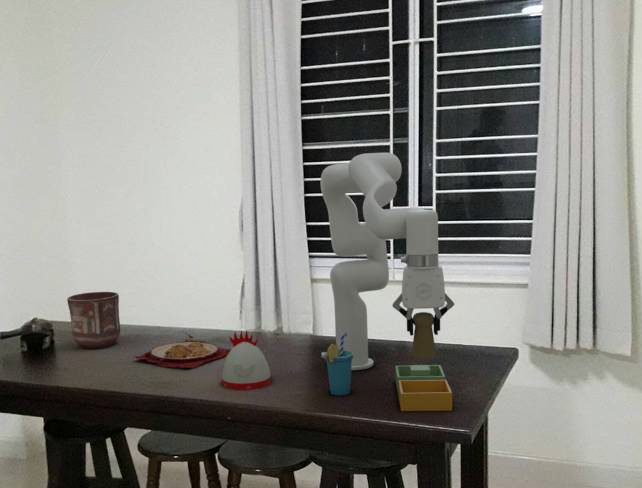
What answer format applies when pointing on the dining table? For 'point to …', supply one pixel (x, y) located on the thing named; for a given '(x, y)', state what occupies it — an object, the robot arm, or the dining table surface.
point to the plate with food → (184, 354)
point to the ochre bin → (424, 395)
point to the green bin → (404, 374)
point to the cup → (339, 368)
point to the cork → (423, 336)
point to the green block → (419, 370)
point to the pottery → (95, 319)
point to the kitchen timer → (245, 365)
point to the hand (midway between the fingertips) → (423, 333)
